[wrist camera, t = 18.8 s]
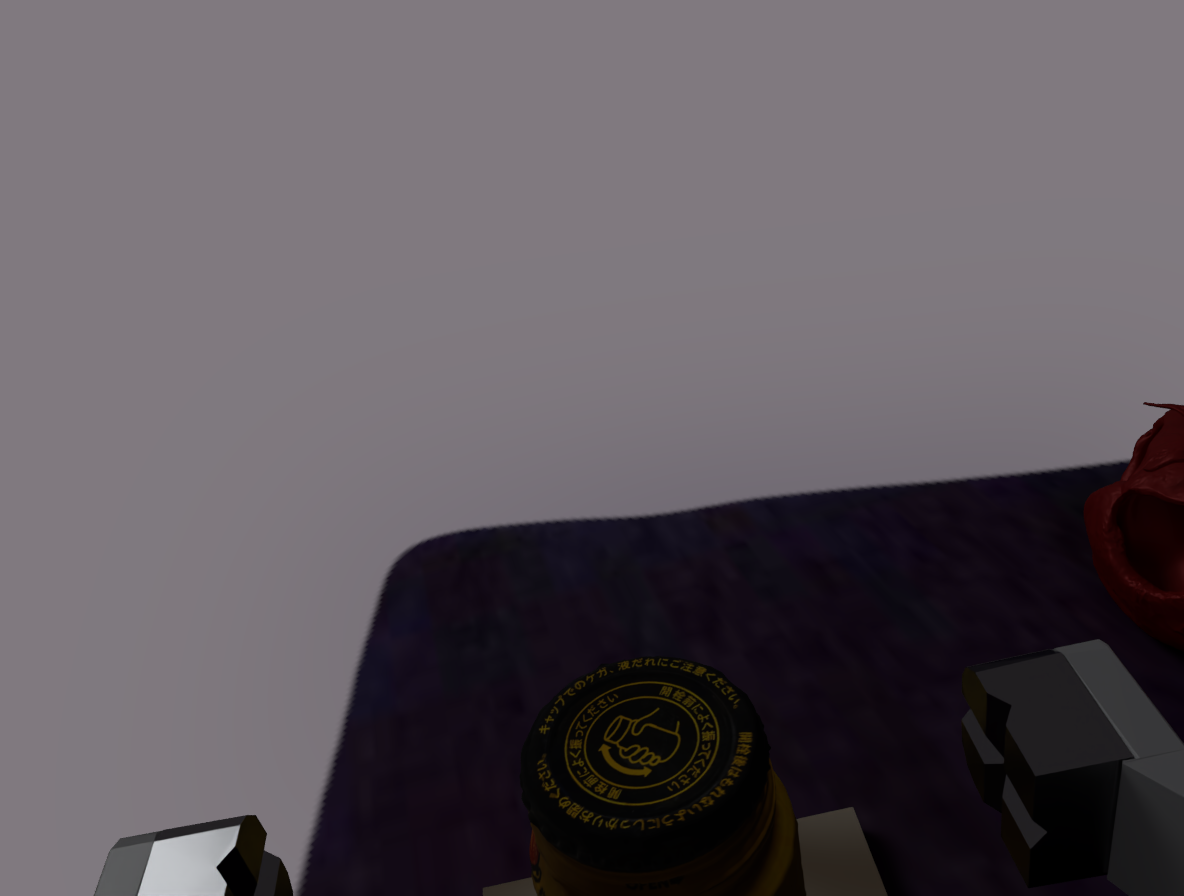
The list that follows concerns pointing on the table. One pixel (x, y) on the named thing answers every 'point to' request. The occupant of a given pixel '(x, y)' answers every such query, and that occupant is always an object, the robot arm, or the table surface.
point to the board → (803, 860)
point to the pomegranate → (1145, 531)
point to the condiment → (656, 788)
